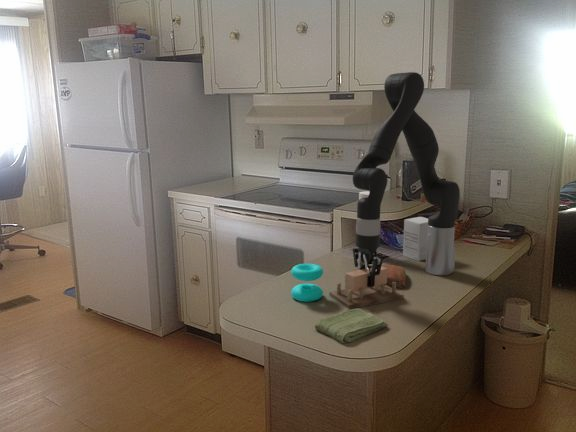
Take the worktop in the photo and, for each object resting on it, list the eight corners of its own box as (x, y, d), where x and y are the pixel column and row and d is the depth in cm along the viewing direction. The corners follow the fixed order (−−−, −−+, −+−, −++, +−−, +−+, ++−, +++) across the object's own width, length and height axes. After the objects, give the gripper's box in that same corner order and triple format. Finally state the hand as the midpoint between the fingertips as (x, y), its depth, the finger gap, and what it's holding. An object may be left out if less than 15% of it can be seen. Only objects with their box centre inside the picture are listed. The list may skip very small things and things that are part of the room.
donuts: (297, 260, 177) (326, 264, 173) (297, 289, 179) (326, 293, 175) (286, 270, 167) (317, 273, 164) (286, 300, 170) (317, 304, 166)
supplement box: (418, 252, 220) (420, 216, 217) (435, 257, 213) (437, 220, 209) (401, 255, 215) (403, 218, 212) (418, 261, 208) (420, 223, 205)
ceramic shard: (364, 258, 196) (406, 266, 193) (361, 275, 196) (402, 283, 194) (362, 265, 181) (407, 274, 179) (359, 284, 182) (404, 293, 180)
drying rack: (381, 286, 182) (382, 272, 181) (403, 298, 171) (404, 284, 170) (329, 295, 174) (329, 281, 172) (348, 308, 163) (349, 294, 162)
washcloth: (390, 328, 150) (390, 317, 150) (344, 347, 139) (344, 335, 139) (355, 314, 160) (356, 303, 160) (311, 330, 149) (311, 319, 149)
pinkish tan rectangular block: (378, 279, 177) (378, 265, 176) (386, 283, 174) (387, 268, 172) (344, 288, 169) (345, 273, 168) (353, 292, 166) (353, 276, 165)
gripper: (391, 235, 163) (389, 289, 166) (365, 225, 175) (364, 275, 179) (370, 238, 160) (368, 293, 163) (345, 227, 172) (344, 279, 176)
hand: (366, 283), depth 171 cm, fingers closed on pinkish tan rectangular block, 4 cm apart
